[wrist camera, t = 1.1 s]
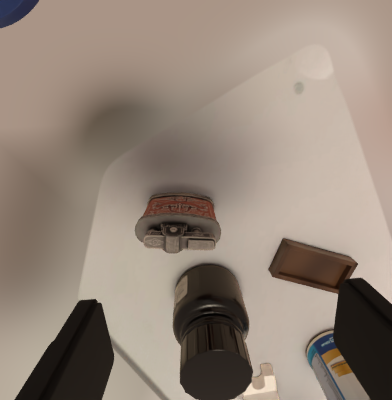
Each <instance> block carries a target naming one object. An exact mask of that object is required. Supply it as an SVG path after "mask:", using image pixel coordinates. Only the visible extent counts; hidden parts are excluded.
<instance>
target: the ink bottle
mask: <svg viewBox="0 0 392 400" xmlns="http://www.w3.org/2000/svg"><path fill="white" fill-rule="evenodd" d="M173 331H174V335H175V337H176V340H177V341H178V343H179V344H180V345H181V358H180V384H181V385H182V386H183V388H184V390H185V392H186V393H188V394H189V395H191V396H192V397H194V398H195V399H198V400H230V399H235V398H236V397H237V396H239V395H240V394H242V393H243V392H245V391H246V389H247V388H248V386H249V385H250V384H251V383H252V374H253V369H252V365H251V361H250V357H249V354H248V350H247V346H246V343H245V339H246V337H247V335H248V331H249V318H248V314H247V311H246V307H245V304H244V301H243V297H242V294H241V291H240V287H239V284H238V282H237V280H236V278H235V277H234V275H233V274H232V273H231V272H230V271H228V270H227V269H225V268H223V267H220V266H216V265H203V266H198V267H195V268H193V269H191V270H189V271H187V272H186V273H185V274H184V275H183V276H182V277H181V278H180V279H179V281H178V283H177V286H176V291H175V301H174V313H173Z"/></svg>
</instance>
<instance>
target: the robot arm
mask: <svg viewBox="0 0 392 400" xmlns="http://www.w3.org/2000/svg"><path fill="white" fill-rule="evenodd" d="M333 340H334V343H335V346H336V347H337V349H338V350H339V352H340V353H341V355H342V357H343V358H344V360H345V361H346V363H347V364H348V366H349V367H350V369H351V370H352V372H353V373H354V375H355V376H356V378H357V380H358V381H359V383H360V384H361V386H362V387H363V389H364V390H365V392H366V393H367V395H368V396H369V398H370V399H371V400H392V304H391V303H390V302H389V301H388V300H386V299H385V298H384V297H383V296H382V295H381V294H380V293H379V292H378V291H376V290H375V289H374V288H373V287H372V286H371V285H370V284H369V283H368V282H366V281H365V280H364V279H363V278H353V279H345V280H344V281H343V283H342V284H340V287H339V294H338V302H337V309H336V317H335V324H334V332H333ZM113 362H114V353H113V348H112V344H111V340H110V336H109V332H108V328H107V324H106V320H105V316H104V312H103V307H102V304H101V303H98V302H97V300H96V299H91V300H80V301H79V302H78V303H77V305H76V306H75V308H74V310H73V311H72V313H71V314H70V316H69V318H68V319H67V321H66V322H65V324H64V326H63V327H62V329H61V330H60V332H59V334H58V335H57V337H56V339H55V340H54V341H53V342H51V344H50V345H49V346H48V348H47V349H46V351H45V352H44V354H43V356H42V357H41V359H40V361H39V362H38V364H37V365H36V367H35V368H34V370H33V371H32V373H31V375H30V376H29V378H28V379H27V381H26V382H25V384H24V386H23V387H22V389H21V390H20V392H19V394H18V395H17V397H16V399H15V400H102V397H103V394H104V391H105V388H106V385H107V382H108V379H109V375H110V372H111V369H112V366H113Z"/></svg>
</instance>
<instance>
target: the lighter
mask: <svg viewBox="0 0 392 400" xmlns="http://www.w3.org/2000/svg"><path fill="white" fill-rule="evenodd" d="M135 234H136V237H137V238H138V239H139V240H140V241H141V242H143V243H144V246H145V247H147V248H157V249H163V250H164V251H165V252H167V253H178V252H180V251H182V250H183V249H186V250H213V249H215V247H216V243H217V242H218V240H219V239H220V236H221V229H220V225H219V223H218V222H217V221H216V217H215V213H214V204H213V202H212V200H211V199H210V198H208V197H206V196H201V195H197V194H190V193H164V194H156V195H153V196H152V197H151V198H150V199H149V201H148V203H147V209H146V211H145V213H144V215H143V216H142V217H141V218H140V219H139V220H138V222H137V224H136V226H135Z"/></svg>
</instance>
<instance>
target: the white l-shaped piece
mask: <svg viewBox="0 0 392 400" xmlns="http://www.w3.org/2000/svg"><path fill="white" fill-rule="evenodd" d="M260 365H261V372H262V373H261V375H260V376H258V377H252V383H251V384H250V385H249V386H248V388H247V389H246V391H245V392H243V398H244V400H280V399H279V396H278V393H277V389H276V381H275V376H274V373H273V370H272V367H271V365H270V364H269V363H266V364H260Z"/></svg>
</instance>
